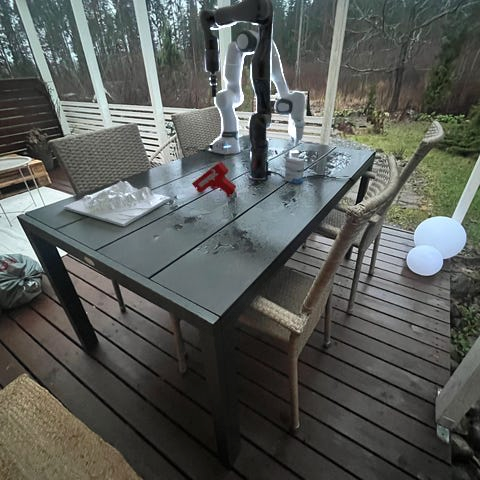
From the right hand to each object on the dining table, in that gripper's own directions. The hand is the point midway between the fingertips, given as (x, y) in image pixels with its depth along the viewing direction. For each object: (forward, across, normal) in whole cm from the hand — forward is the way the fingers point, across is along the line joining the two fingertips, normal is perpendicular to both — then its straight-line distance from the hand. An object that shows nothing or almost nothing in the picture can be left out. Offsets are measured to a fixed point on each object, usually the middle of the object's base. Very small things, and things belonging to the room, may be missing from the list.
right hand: (214, 96), depth 148 cm
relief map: (+38, -53, +45) cm, 79 cm away
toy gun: (+38, -44, +2) cm, 58 cm away
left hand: (+29, +9, -50) cm, 58 cm away
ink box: (+38, -33, -39) cm, 64 cm away
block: (+38, +8, -50) cm, 63 cm away
